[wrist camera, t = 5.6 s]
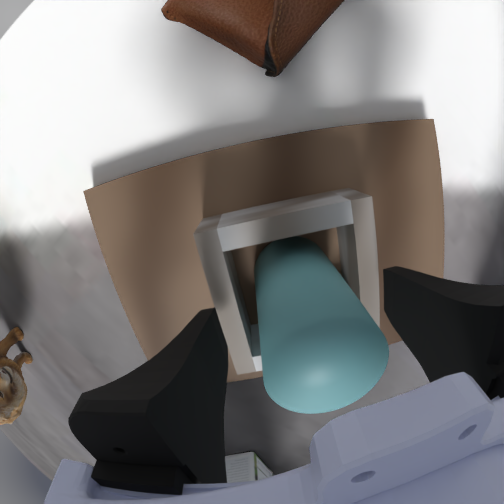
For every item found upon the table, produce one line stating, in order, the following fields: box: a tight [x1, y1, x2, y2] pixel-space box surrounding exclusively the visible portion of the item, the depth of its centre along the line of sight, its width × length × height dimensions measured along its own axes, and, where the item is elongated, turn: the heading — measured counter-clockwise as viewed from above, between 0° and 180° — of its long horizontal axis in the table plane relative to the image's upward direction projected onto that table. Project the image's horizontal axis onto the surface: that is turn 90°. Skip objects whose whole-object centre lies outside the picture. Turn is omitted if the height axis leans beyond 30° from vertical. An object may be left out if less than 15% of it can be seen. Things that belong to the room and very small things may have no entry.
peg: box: [254, 236, 389, 414], centre depth 12 cm, size 4×4×8 cm
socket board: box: [83, 119, 444, 382], centre depth 15 cm, size 20×14×4 cm
